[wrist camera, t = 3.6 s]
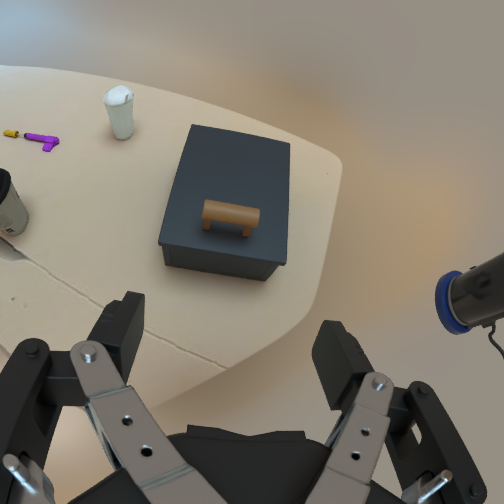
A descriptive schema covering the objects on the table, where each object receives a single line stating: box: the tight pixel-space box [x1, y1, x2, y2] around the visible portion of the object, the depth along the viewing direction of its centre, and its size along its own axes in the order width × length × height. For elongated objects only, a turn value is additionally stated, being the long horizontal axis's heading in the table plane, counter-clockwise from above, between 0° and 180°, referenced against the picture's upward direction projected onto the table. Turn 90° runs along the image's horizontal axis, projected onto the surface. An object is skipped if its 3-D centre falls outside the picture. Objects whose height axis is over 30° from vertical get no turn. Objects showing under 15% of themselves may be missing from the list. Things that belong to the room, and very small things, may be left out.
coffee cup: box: [0, 168, 29, 236], centre depth 29 cm, size 7×7×10 cm
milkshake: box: [103, 86, 133, 140], centre depth 38 cm, size 4×5×10 cm
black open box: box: [162, 246, 279, 281], centre depth 36 cm, size 16×13×8 cm
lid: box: [158, 124, 290, 266], centre depth 30 cm, size 17×13×5 cm
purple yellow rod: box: [3, 130, 59, 152], centre depth 38 cm, size 3×1×16 cm
